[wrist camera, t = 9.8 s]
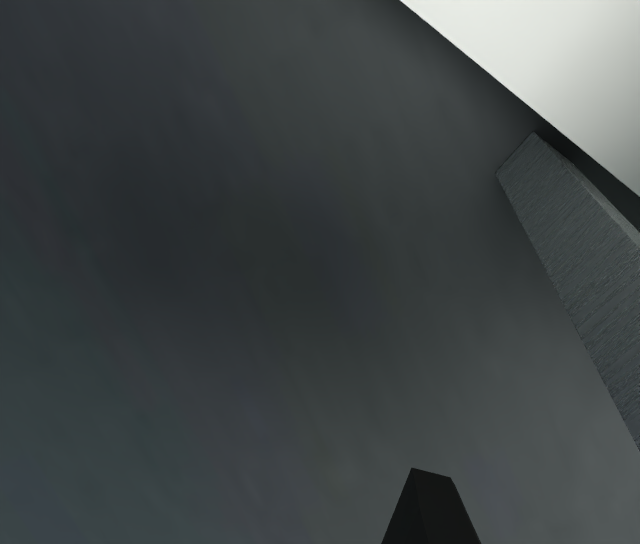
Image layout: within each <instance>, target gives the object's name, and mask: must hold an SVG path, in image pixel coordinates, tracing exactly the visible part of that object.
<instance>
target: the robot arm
mask: <svg viewBox="0 0 640 544" xmlns="http://www.w3.org/2000/svg"><path fill="white" fill-rule="evenodd" d="M381 544H481V542H480V540H479V538H478V536H477V534H476V531H475V529H474V527H473V525H472V523H471V520H470V518H469V516H468V514H467V511H466V509H465V507H464V505H463V502H462V500H461V498H460V496H459V493H458V491H457V489H456V487H455V484H454V483H453V481H452V479H451V478H450V477H446V476H443V475H439V474H435V473H431V472H427V471H423V470H419V469H415V468H411V470H410V473H409V475H408V478H407V481H406V483H405V486H404V488H403V491H402V493H401V496H400V498H399V501H398V503H397V506H396V508H395V511H394V513H393V516H392V518H391V521H390V523H389V526H388V528H387V531H386V533H385V536H384V538H383V541H382V543H381Z"/></svg>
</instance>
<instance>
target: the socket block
mask: <svg viewBox="0 0 640 544" xmlns="http://www.w3.org/2000/svg"><path fill="white" fill-rule="evenodd" d="M400 1H402V2H403V3H404V4H405V5H407V6H408V7H409V8H410V9H411V10H413V11H414V12H415V13H416V14H418V15H419V16H420V17H421V18H422V19H424V20H425V21H426V22H427V23H429V24H430V25H431V26H432V27H433V28H435V29H436V30H437V31H438V32H440V33H441V34H442V35H443V36H444V37H446V38H447V39H448V40H449V41H450V42H452V43H453V44H454V45H455V46H457V47H458V48H459V49H460V50H461V51H463V52H464V53H465V54H466V55H468V56H469V57H470V58H471V59H472V60H474V61H475V62H476V63H477V64H479V65H480V66H481V67H482V68H483V69H485V70H486V71H487V72H488V73H489V74H491V75H492V76H493V77H494V78H496V79H497V80H498V81H499V82H500V83H502V84H503V85H504V86H505V87H507V88H508V89H509V90H510V91H511V92H513V93H514V94H515V95H516V96H518V97H519V98H520V99H521V100H522V101H524V102H525V103H526V104H527V105H528V106H530V107H531V108H532V109H533V110H535V111H536V112H537V113H538V114H539V115H541V116H542V117H543V118H544V119H546V120H547V121H548V122H549V123H550V124H552V125H553V126H554V127H555V128H557V129H558V130H559V131H560V132H561V133H563V134H564V135H565V136H566V137H567V138H569V139H570V140H571V141H572V142H574V143H575V144H576V145H577V146H578V147H580V148H581V149H582V150H583V151H585V152H586V153H587V154H588V155H589V156H591V157H592V158H593V159H594V160H596V161H597V162H598V163H599V164H600V165H602V166H603V167H604V168H605V169H607V170H608V171H609V172H610V173H611V174H613V175H614V176H615V177H616V178H617V179H619V180H620V181H621V182H622V183H624V184H625V185H626V186H627V187H628V188H630V189H631V190H632V191H633V192H635V193H636V194H637V195H638V196H639V197H640V0H400Z"/></svg>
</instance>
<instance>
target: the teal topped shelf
mask: <svg viewBox="0 0 640 544" xmlns="http://www.w3.org/2000/svg"><path fill="white" fill-rule="evenodd" d="M495 174H496V176H497V178H498V180H499V182H500V183H501V185H502V187H503V189H504V191H505V193H506V195H507V197H508V199H509V201H510V203H511V205H512V207H513V209H514V210H515V212H516V214H517V216H518V218H519V220H520V222H521V224H522V226H523V228H524V230H525V232H526V234H527V235H528V237H529V239H530V241H531V243H532V245H533V247H534V249H535V251H536V253H537V255H538V257H539V259H540V260H541V262H542V264H543V266H544V268H545V270H546V272H547V274H548V276H549V278H550V280H551V282H552V284H553V285H554V287H555V289H556V291H557V293H558V295H559V297H560V299H561V301H562V303H563V305H564V307H565V309H566V310H567V312H568V314H569V316H570V318H571V320H572V322H573V324H574V326H575V328H576V330H577V332H578V334H579V335H580V337H581V339H582V341H583V343H584V345H585V347H586V349H587V351H588V353H589V355H590V357H591V359H592V360H593V362H594V364H595V366H596V368H597V370H598V372H599V374H600V376H601V378H602V380H603V382H604V384H605V385H606V387H607V389H608V391H609V393H610V395H611V397H612V399H613V401H614V403H615V405H616V407H617V409H618V410H619V412H620V414H621V416H622V418H623V420H624V422H625V424H626V426H627V428H628V430H629V432H630V434H631V435H632V437H633V439H634V441H635V443H636V445H637V447H638V449H639V451H640V232H639V231H638V230H637V229H636V228H635V227H634V226H633V225H632V224H631V223H630V222H629V221H628V220H627V219H626V218H625V217H624V216H623V215H622V214H621V213H620V212H619V211H618V210H617V209H616V208H615V207H614V206H613V204H612V203H611V202H610V201H609V200H608V199H607V198H606V197H605V196H604V195H603V194H602V193H601V192H600V191H599V190H598V189H597V188H596V187H595V186H594V185H593V184H592V183H591V182H590V181H589V180H588V179H587V178H586V177H585V176H584V174H583V173H582V172H581V171H580V170H579V169H578V168H577V167H576V166H575V165H574V164H573V163H572V162H570V161H569V160H568V159H567V158H565V157H564V156H563V155H562V154H561V153H559V152H558V151H557V150H556V149H554V148H553V147H552V146H551V145H549V144H548V143H547V142H546V141H545V140H543V139H542V138H541V137H540V136H538V135H537V134H536V133H535V132H532V133H531V134H530V135H529V136H528V137H527V138H526V139H525V140H524V142H523V143H522V144H521V145H520V146H519V147H518V148H517V149H516V150H515V151H514V153H513V154H512V155H511V156H510V157H509V158H508V159H507V160H506V161H505V163H504V164H503V165H502V166H501V167H500V168H499V169H498V170H497V171H496V172H495Z"/></svg>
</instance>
